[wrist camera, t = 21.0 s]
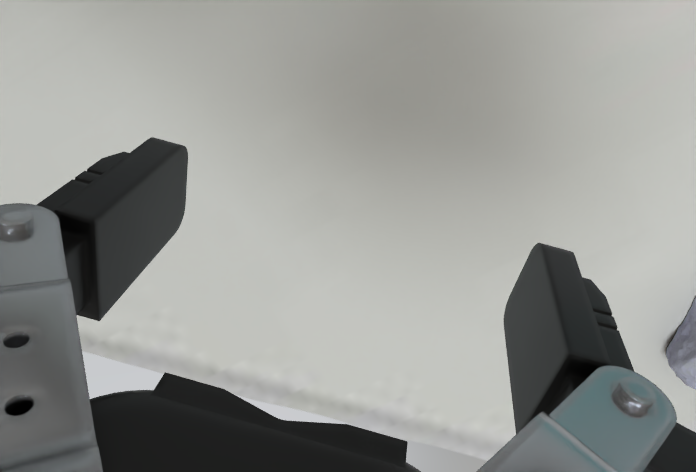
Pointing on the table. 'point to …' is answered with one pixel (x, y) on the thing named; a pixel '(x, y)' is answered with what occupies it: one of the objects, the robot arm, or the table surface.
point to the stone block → (684, 349)
